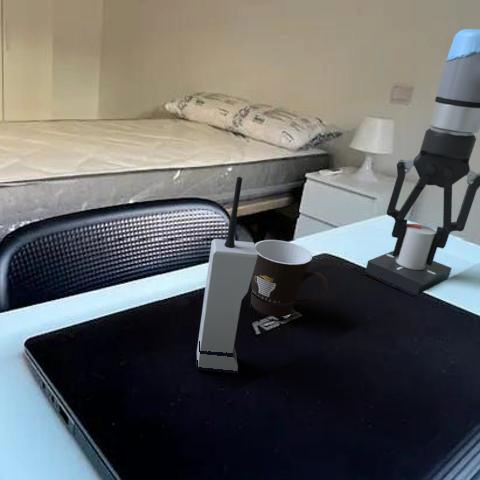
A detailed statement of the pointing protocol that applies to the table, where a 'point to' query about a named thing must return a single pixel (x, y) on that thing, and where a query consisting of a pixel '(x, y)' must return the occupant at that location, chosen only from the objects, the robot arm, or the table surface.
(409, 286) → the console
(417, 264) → the timer knob
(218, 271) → the vintage mobile phone
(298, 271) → the coffee mug
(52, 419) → the table surface
